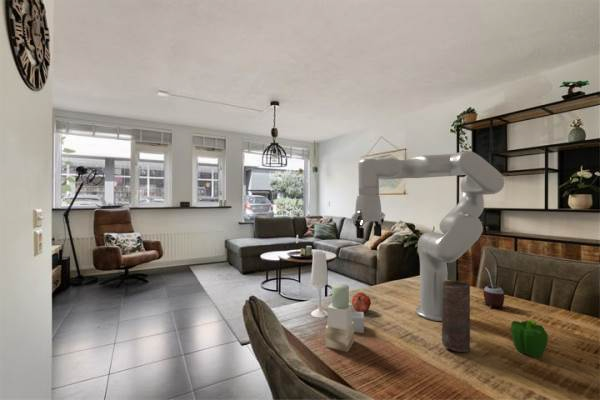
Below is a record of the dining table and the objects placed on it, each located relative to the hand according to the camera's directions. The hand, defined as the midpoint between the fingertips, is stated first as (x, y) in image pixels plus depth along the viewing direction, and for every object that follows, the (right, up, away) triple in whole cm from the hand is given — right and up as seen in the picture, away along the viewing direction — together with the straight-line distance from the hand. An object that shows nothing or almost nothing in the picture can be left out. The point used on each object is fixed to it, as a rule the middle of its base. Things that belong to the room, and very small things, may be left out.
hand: (369, 237), depth 106 cm
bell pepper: (+40, -31, -24) cm, 56 cm away
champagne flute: (-19, -31, +3) cm, 36 cm away
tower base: (-14, -31, -19) cm, 39 cm away
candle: (+20, -31, -23) cm, 43 cm away
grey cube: (-7, -30, -10) cm, 33 cm away
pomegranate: (-2, -30, +6) cm, 31 cm away
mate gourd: (+53, -30, +9) cm, 62 cm away
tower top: (-14, -25, -19) cm, 34 cm away
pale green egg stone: (-14, -19, -19) cm, 30 cm away
